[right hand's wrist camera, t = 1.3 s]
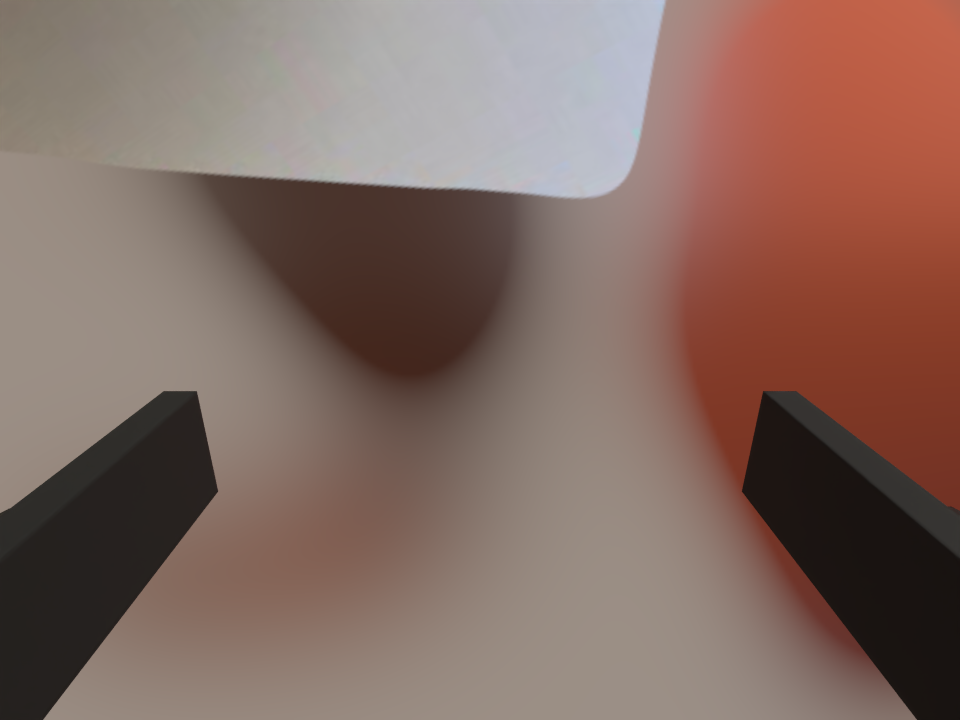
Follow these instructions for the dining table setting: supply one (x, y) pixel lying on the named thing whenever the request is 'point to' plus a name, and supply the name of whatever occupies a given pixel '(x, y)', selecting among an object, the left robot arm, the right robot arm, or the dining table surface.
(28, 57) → the dining table surface
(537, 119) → the dining table surface
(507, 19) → the dining table surface
